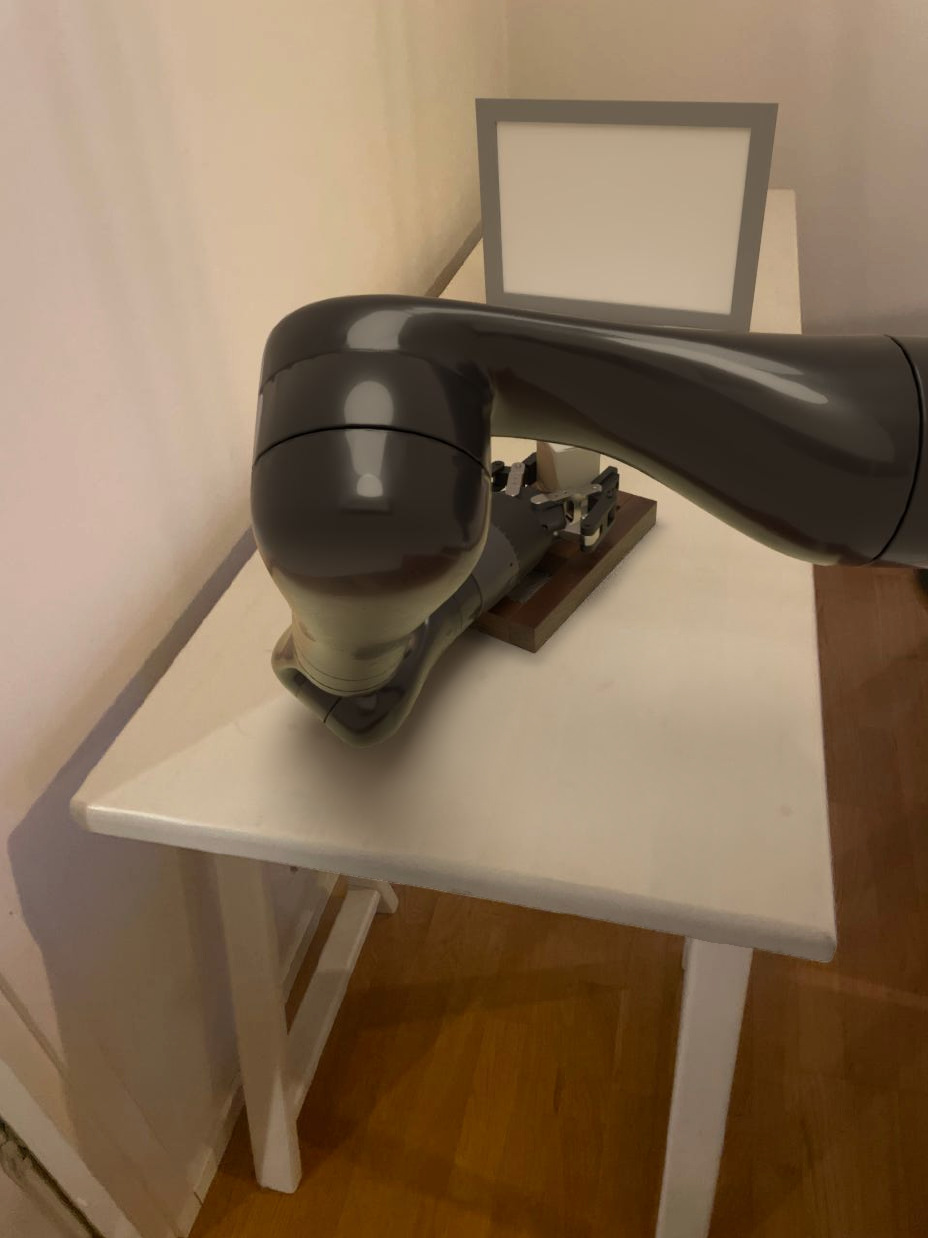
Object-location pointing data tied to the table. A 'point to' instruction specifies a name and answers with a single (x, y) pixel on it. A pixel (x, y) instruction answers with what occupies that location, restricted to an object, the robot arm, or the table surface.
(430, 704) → the table surface
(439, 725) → the table surface
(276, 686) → the table surface
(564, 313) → the laptop
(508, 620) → the socket pad
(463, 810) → the table surface
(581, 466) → the box
